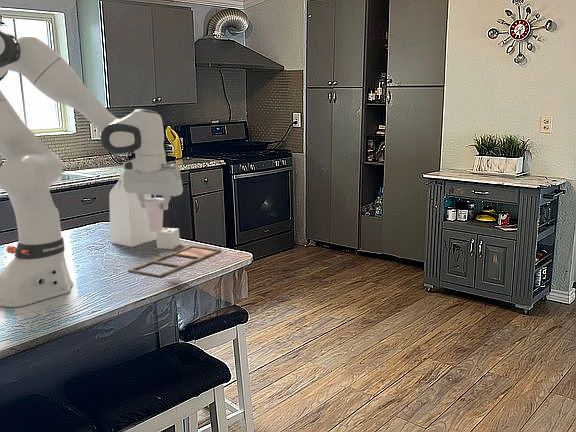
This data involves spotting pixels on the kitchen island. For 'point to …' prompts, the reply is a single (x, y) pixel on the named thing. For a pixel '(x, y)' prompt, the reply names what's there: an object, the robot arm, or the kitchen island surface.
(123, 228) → the milk
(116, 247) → the kitchen island surface
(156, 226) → the smoothie
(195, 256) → the board
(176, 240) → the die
